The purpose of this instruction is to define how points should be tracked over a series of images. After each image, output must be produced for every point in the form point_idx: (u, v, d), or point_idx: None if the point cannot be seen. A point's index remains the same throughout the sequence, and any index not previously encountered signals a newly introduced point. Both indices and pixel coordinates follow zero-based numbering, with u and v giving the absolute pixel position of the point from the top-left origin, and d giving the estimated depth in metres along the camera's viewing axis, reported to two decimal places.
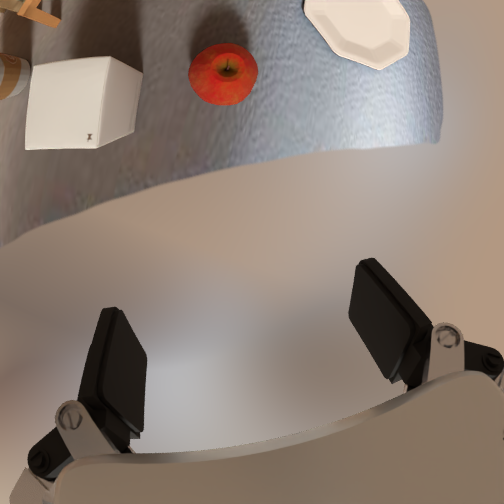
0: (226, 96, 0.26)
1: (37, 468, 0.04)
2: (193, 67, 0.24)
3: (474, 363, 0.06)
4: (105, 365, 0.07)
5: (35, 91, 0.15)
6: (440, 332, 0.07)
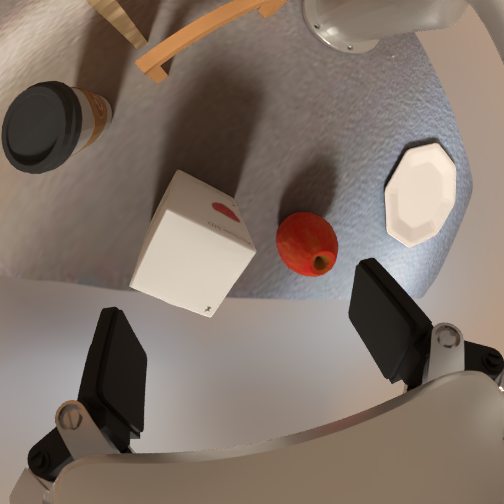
0: (305, 275, 0.35)
1: (37, 468, 0.04)
2: (291, 239, 0.34)
3: (474, 363, 0.06)
4: (105, 365, 0.07)
5: (161, 241, 0.22)
6: (440, 332, 0.07)
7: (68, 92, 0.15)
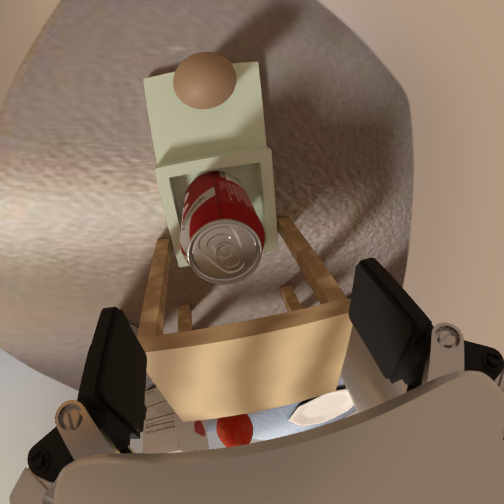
0: None
1: (37, 468, 0.04)
2: (227, 433, 0.48)
3: (474, 363, 0.06)
4: (105, 365, 0.07)
5: None
6: (440, 332, 0.07)
7: None
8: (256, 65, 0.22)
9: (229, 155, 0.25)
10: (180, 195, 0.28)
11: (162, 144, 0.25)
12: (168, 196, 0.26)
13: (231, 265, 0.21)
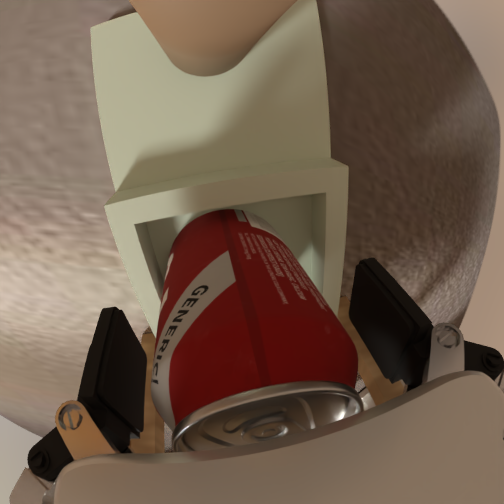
0: None
1: (37, 468, 0.04)
2: None
3: (474, 363, 0.06)
4: (105, 365, 0.07)
5: None
6: (440, 332, 0.07)
7: None
8: (313, 4, 0.09)
9: (264, 176, 0.12)
10: (163, 250, 0.15)
11: (123, 151, 0.12)
12: (137, 260, 0.12)
13: None
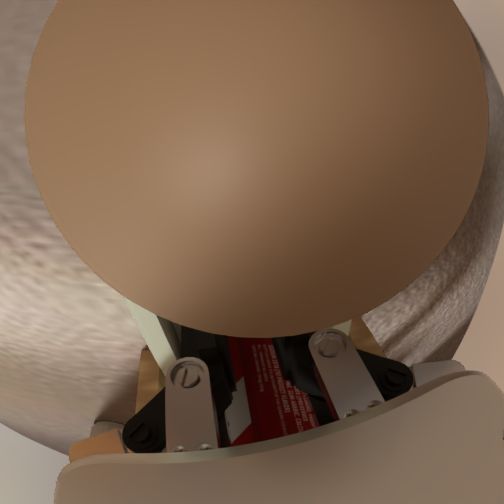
0: None
1: (134, 445, 0.05)
2: None
3: None
4: None
5: None
6: (317, 341, 0.07)
7: None
8: None
9: None
10: None
11: None
12: (158, 337, 0.13)
13: None
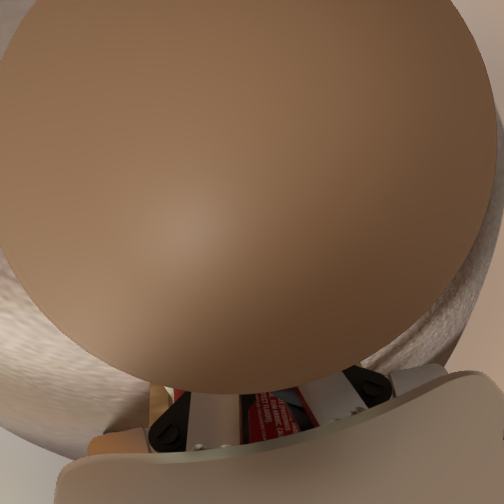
0: None
1: (161, 446, 0.05)
2: None
3: None
4: None
5: None
6: None
7: None
8: None
9: None
10: None
11: None
12: None
13: None
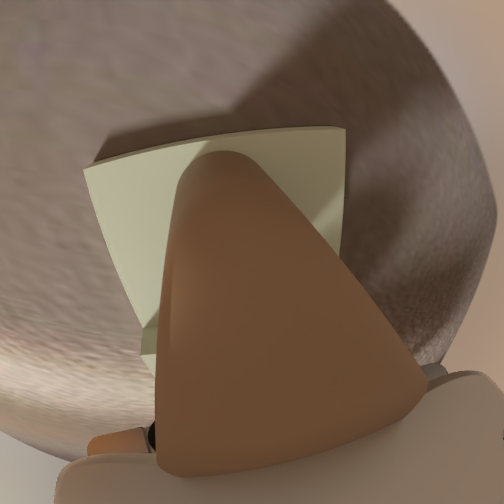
0: None
1: None
2: None
3: None
4: None
5: None
6: None
7: None
8: (342, 138, 0.11)
9: None
10: None
11: (146, 301, 0.13)
12: None
13: None
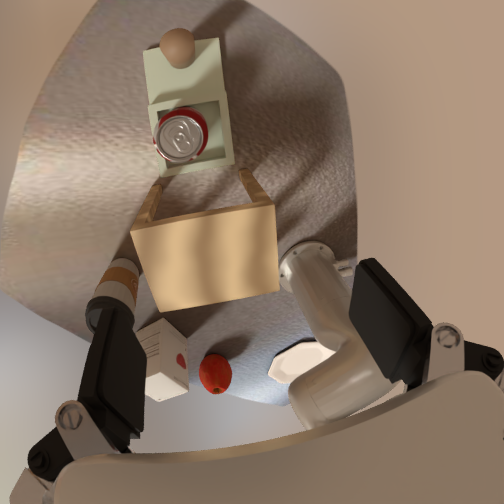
0: None
1: (37, 468, 0.04)
2: (207, 374, 0.59)
3: (474, 363, 0.06)
4: (105, 365, 0.07)
5: (152, 378, 0.44)
6: (440, 332, 0.07)
7: (131, 316, 0.38)
8: (217, 39, 0.31)
9: (197, 95, 0.33)
10: None
11: (153, 92, 0.33)
12: (155, 124, 0.34)
13: (184, 148, 0.29)
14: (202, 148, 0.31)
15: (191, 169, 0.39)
